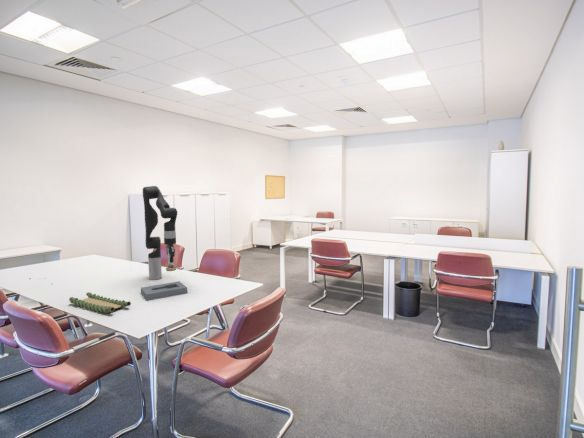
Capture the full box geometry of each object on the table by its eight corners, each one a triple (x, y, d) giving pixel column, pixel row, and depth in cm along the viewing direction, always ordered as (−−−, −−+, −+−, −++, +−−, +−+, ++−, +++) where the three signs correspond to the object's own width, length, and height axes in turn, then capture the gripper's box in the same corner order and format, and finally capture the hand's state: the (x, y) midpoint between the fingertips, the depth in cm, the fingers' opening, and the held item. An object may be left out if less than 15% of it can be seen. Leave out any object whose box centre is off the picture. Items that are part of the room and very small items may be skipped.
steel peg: (165, 269, 225) (164, 252, 224) (174, 268, 229) (173, 251, 228) (167, 271, 220) (166, 254, 219) (177, 270, 224) (176, 253, 223)
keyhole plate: (140, 293, 223) (140, 287, 222) (179, 286, 238) (179, 281, 237) (146, 300, 208) (146, 294, 208) (187, 293, 223) (187, 287, 223)
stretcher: (132, 308, 195) (132, 300, 195) (109, 317, 182) (109, 308, 182) (90, 298, 213) (90, 291, 213) (67, 305, 201) (66, 297, 200)
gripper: (161, 236, 226) (162, 260, 227) (167, 238, 214) (168, 264, 216) (172, 235, 230) (173, 259, 232) (178, 237, 219) (179, 263, 220)
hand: (170, 261), depth 224 cm, fingers closed on steel peg, 3 cm apart
